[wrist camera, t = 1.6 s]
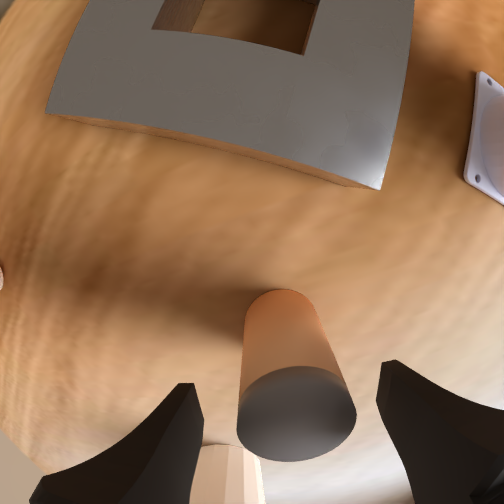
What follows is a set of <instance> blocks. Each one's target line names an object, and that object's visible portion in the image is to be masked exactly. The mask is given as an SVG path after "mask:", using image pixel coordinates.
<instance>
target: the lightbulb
mask: <svg viewBox="0 0 504 504" xmlns="http://www.w3.org/2000/svg"><path fill="white" fill-rule="evenodd" d="M3 282H4V278H3V272H2V269H1V268H0V290H1V289H2V287H3Z"/></svg>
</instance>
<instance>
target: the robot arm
mask: <svg viewBox="0 0 504 504" xmlns="http://www.w3.org/2000/svg"><path fill="white" fill-rule="evenodd" d="M487 81H488V82H487ZM475 176H476V177H477V181H475ZM464 179H465V181H466V182H467V183H469V184H470V185H472V186H474V187H475V188H477V189H479V190H480V191H482V192H484V193H485V194H487V195H488V196H490V197H491V198H493V199H495V200H496V201H498V202H499V203H501V204H502V205H504V88H503V87H502V86H501V85H499V84H498V83H497V82H496V81H495V80H493V79H492V78H491V77H490V76H488V75H487V74H486V73H484V72H483V71H480V72H478V73H477V75H476V89H475V102H474V111H473V120H472V128H471V135H470V141H469V147H468V153H467V159H466V164H465V169H464ZM376 403H377V406H378V409H379V412H380V415H381V418H382V421H383V423H384V425H385V427H386V429H387V431H388V433H389V436H390V438H391V440H392V442H393V444H394V446H395V448H396V450H397V452H398V454H399V456H400V458H401V460H402V462H403V465H404V467H405V470H406V473H407V476H408V479H409V483H410V486H411V490H412V494H413V497H414V501H415V504H504V410H500V409H496V408H492V407H488V406H484V405H481V404H478V403H475V402H473V401H470V400H467V399H465V398H462V397H460V396H458V395H456V394H454V393H452V392H450V391H448V390H446V389H444V388H442V387H440V386H438V385H436V384H435V383H433V382H431V381H430V380H428V379H426V378H425V377H423V376H421V375H420V374H418V373H417V372H415V371H414V370H412V369H410V368H409V367H407V366H406V365H404V364H403V363H401V362H399V361H397V360H391V361H387V362H382V365H381V372H380V378H379V385H378V391H377V397H376ZM203 427H204V418H203V414H202V411H201V407H200V404H199V400H198V397H197V393H196V389H195V385H194V383H178V384H177V386H176V387H175V388H174V389H173V390H172V391H171V392H170V393H169V394H168V395H167V397H166V398H165V399H164V400H163V401H162V402H161V403H160V404H159V405H158V407H157V408H156V409H155V410H154V411H153V412H152V413H151V414H150V415H149V416H148V417H147V418H146V419H145V420H144V421H143V422H142V423H141V424H140V425H138V426H137V427H136V428H135V429H134V430H133V431H132V432H131V433H129V434H128V435H127V436H126V437H124V438H123V439H122V440H120V441H119V442H117V443H116V444H115V445H113V446H112V447H110V448H109V449H107V450H105V451H103V452H102V453H100V454H98V455H97V456H95V457H93V458H91V459H89V460H87V461H85V462H83V463H81V464H78V465H76V466H74V467H71V468H69V469H66V470H63V471H60V472H57V473H53V474H50V475H46V476H43V477H42V479H41V480H40V482H39V484H38V485H37V487H36V489H35V491H34V492H33V494H32V496H31V498H30V499H29V503H30V504H189V502H190V493H191V487H192V482H193V478H194V474H195V470H196V466H197V462H198V457H199V453H200V449H201V444H202V438H203Z"/></svg>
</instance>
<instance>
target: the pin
mask: <svg viewBox="0 0 504 504" xmlns="http://www.w3.org/2000/svg"><path fill="white" fill-rule="evenodd" d="M356 416H357V414H356V408H355V406H354V403H353V401H352V398H351V396H350V393H349V391H348V388H347V386H346V383H345V381H344V378H343V376H342V373H341V371H340V368H339V366H338V364H337V361H336V359H335V356H334V354H333V351H332V349H331V347H330V344H329V342H328V339H327V337H326V335H325V332H324V330H323V327H322V325H321V323H320V320H319V318H318V316H317V313H316V311H315V309H314V307H313V305H312V303H311V302H310V301H309V300H308V299H307V298H306V297H305V296H303V295H302V294H300V293H298V292H295V291H292V290H286V289H280V290H273V291H270V292H267V293H265V294H263V295H261V296H259V297H258V298H257V299H256V300H255V301H254V302H253V303H252V304H251V305H250V307H249V309H248V310H247V313H246V317H245V326H244V339H243V352H242V365H241V377H240V390H239V404H238V417H237V435H238V438H239V440H240V442H241V443H242V444H243V446H244V447H245V448H246V449H248V450H249V451H250V452H252V453H253V454H255V455H257V456H259V457H262V458H265V459H269V460H273V461H281V462H294V461H303V460H308V459H312V458H315V457H318V456H321V455H323V454H325V453H327V452H329V451H331V450H333V449H334V448H336V447H337V446H339V445H340V444H341V443H342V442H343V441H344V440H345V439H346V438H347V437H348V436H349V435H350V433H351V432H352V430H353V428H354V426H355V423H356Z"/></svg>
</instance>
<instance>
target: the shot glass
mask: <svg viewBox="0 0 504 504" xmlns="http://www.w3.org/2000/svg"><path fill="white" fill-rule="evenodd" d="M189 504H265V497H264V489H263V482H262V475H261V467H260V461H259V459H258V458H257V457H256V456H255V454H253V453H251V452H250V451H248V450H246V449H244V448H240V447H236V446H232V445H220V444H214V445H209V446H203V447H201V449H200V453H199V457H198V462H197V466H196V470H195V474H194V478H193V482H192V487H191V493H190V502H189Z"/></svg>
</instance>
